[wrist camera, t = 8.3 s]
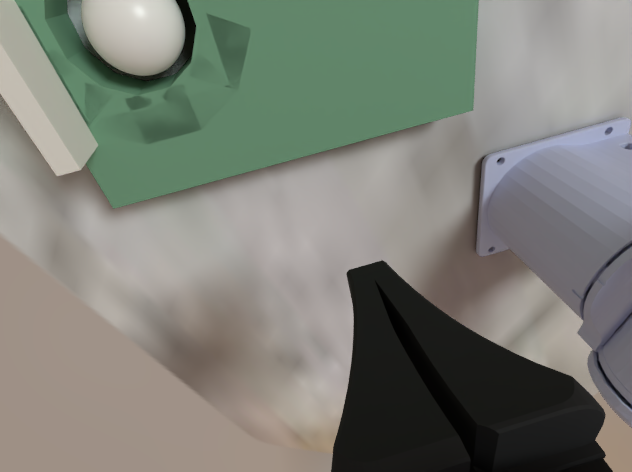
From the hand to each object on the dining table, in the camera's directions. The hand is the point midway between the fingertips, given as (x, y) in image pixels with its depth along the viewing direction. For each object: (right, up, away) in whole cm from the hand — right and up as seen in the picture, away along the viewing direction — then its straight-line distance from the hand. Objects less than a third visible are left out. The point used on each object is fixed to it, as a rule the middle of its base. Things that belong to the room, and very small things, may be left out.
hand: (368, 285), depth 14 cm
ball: (-9, +10, +1) cm, 13 cm away
